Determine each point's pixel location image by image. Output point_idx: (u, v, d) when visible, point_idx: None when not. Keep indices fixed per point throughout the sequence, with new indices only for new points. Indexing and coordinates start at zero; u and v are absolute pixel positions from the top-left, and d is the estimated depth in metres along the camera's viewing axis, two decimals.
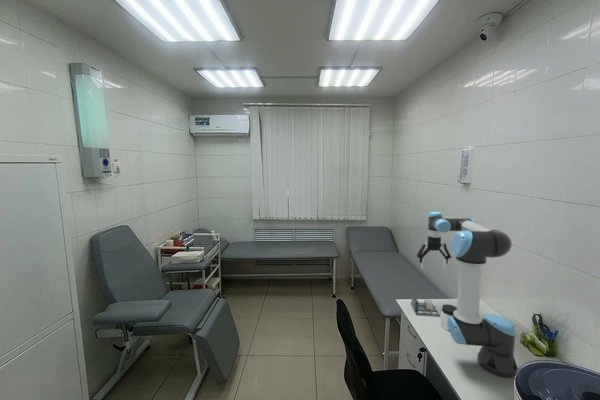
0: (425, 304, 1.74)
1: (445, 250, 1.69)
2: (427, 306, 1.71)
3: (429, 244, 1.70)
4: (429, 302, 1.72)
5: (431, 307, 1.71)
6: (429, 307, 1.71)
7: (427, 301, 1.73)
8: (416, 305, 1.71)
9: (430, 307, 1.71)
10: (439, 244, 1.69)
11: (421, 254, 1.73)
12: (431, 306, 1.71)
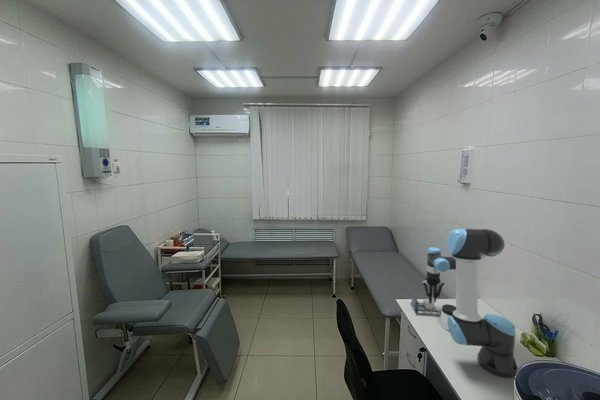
0: (424, 304, 1.74)
1: (439, 288, 1.70)
2: (426, 306, 1.71)
3: (428, 280, 1.71)
4: (428, 302, 1.72)
5: (430, 307, 1.71)
6: (428, 307, 1.71)
7: (426, 301, 1.73)
8: (416, 305, 1.71)
9: (429, 307, 1.71)
10: (439, 280, 1.69)
11: (429, 293, 1.73)
12: (430, 306, 1.71)
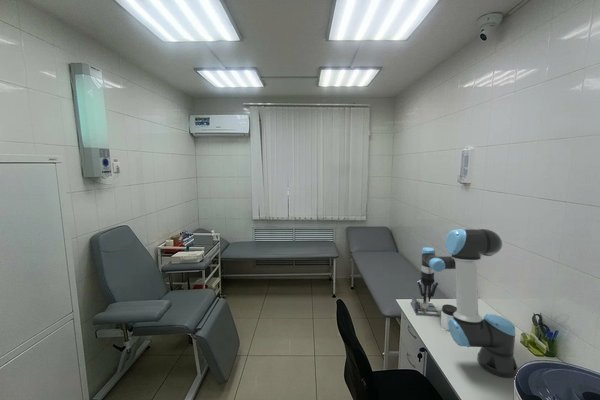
0: (419, 304, 1.74)
1: (433, 288, 1.71)
2: (421, 306, 1.72)
3: (422, 280, 1.71)
4: (422, 302, 1.72)
5: (424, 307, 1.72)
6: (422, 307, 1.72)
7: (421, 301, 1.74)
8: (416, 305, 1.71)
9: (423, 307, 1.72)
10: (433, 280, 1.70)
11: (423, 292, 1.74)
12: (424, 306, 1.71)
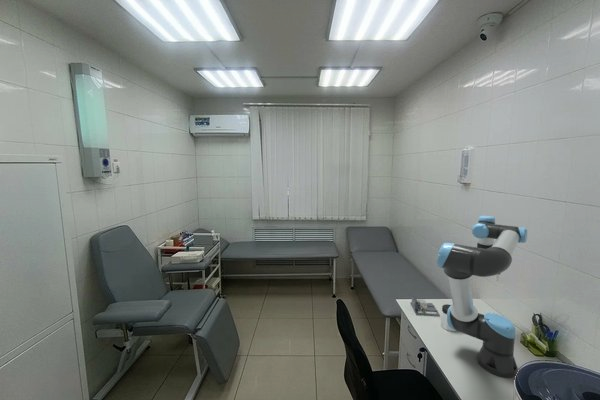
0: (419, 304, 1.74)
1: None
2: (420, 306, 1.72)
3: None
4: (422, 302, 1.72)
5: (424, 307, 1.72)
6: (422, 307, 1.72)
7: (421, 301, 1.74)
8: (416, 305, 1.71)
9: (423, 307, 1.72)
10: None
11: None
12: (424, 306, 1.71)
